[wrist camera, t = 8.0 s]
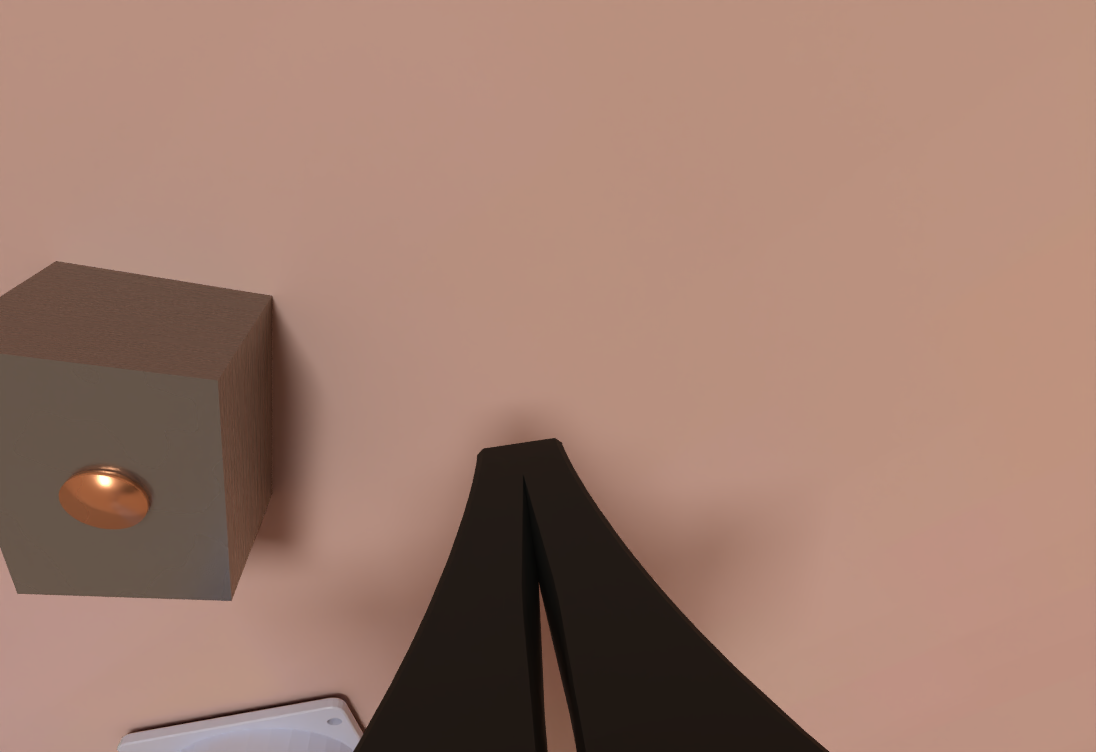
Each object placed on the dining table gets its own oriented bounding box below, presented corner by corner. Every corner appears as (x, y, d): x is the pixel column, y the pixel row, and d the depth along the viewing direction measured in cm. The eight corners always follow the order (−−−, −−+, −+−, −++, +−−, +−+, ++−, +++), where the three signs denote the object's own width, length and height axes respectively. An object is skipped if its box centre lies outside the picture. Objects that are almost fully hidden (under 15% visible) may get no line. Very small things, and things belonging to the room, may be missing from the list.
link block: (273, 488, 15) (229, 606, 12) (106, 475, 14) (12, 600, 11) (274, 292, 12) (214, 385, 9) (60, 257, 11) (-83, 349, 8)
